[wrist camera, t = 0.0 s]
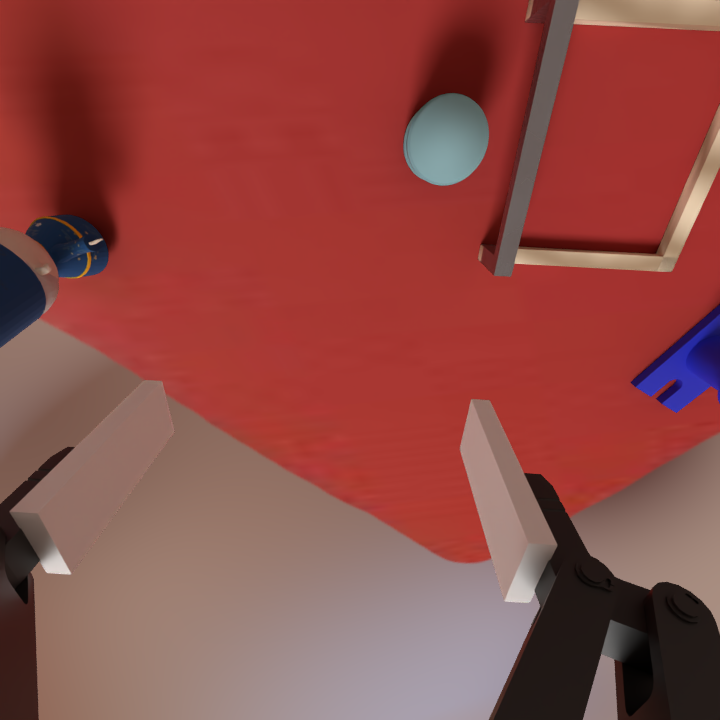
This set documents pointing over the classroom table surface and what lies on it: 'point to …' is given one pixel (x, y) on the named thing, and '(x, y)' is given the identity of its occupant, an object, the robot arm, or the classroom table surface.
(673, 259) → the shelf frame
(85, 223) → the figurine
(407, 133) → the grooved blue cylinder
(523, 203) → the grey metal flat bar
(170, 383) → the classroom table surface
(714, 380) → the mount
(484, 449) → the robot arm
